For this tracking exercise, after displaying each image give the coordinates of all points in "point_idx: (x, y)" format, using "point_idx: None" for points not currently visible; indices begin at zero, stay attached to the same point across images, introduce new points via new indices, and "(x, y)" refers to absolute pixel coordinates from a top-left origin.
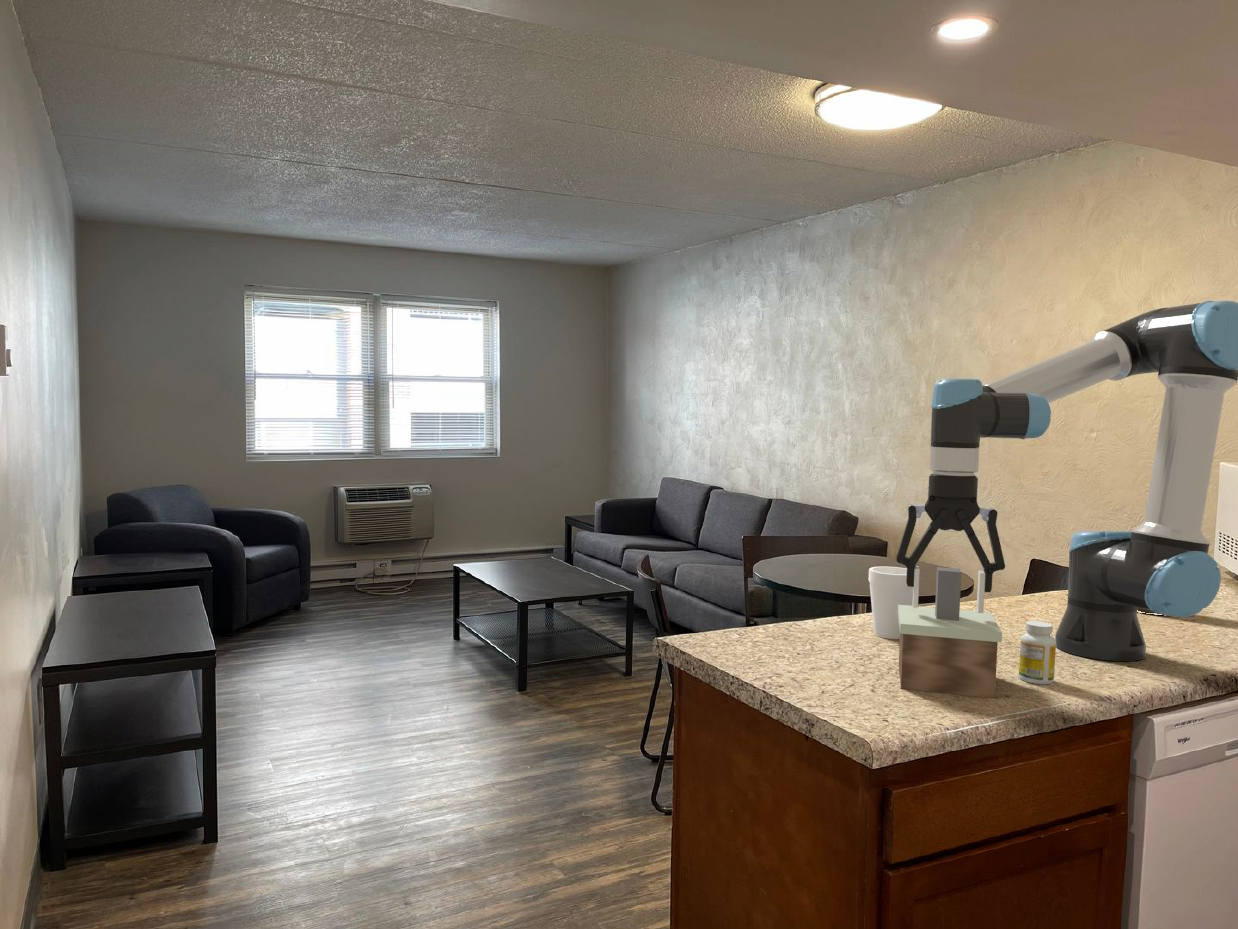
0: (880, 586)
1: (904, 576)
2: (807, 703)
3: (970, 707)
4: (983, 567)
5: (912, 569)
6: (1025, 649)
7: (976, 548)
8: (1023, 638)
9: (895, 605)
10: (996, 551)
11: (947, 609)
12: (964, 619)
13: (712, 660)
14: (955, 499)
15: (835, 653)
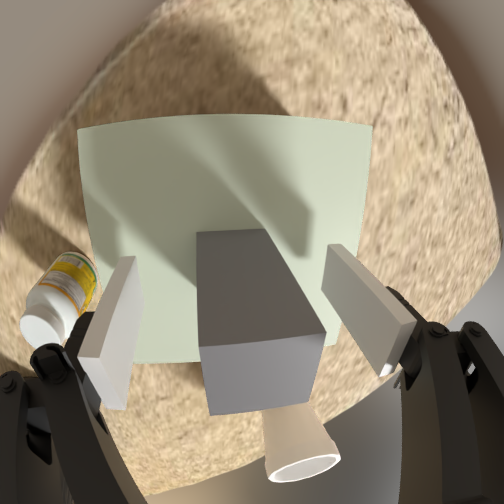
0: (323, 437)
1: (294, 460)
2: (417, 38)
3: (183, 59)
4: (99, 415)
5: (414, 328)
6: (71, 288)
7: (107, 494)
8: (70, 308)
9: (293, 420)
10: (5, 455)
11: (237, 243)
12: (180, 257)
13: (487, 198)
14: None
15: None
